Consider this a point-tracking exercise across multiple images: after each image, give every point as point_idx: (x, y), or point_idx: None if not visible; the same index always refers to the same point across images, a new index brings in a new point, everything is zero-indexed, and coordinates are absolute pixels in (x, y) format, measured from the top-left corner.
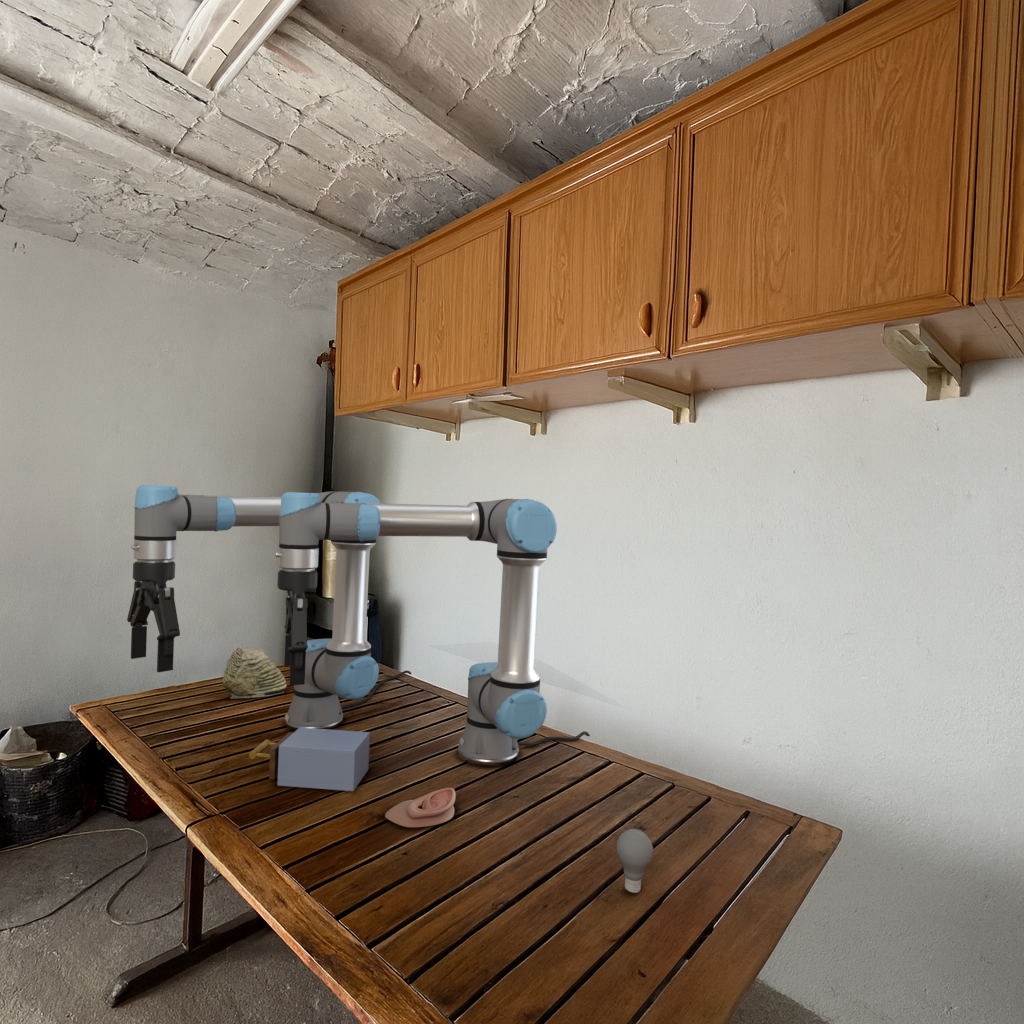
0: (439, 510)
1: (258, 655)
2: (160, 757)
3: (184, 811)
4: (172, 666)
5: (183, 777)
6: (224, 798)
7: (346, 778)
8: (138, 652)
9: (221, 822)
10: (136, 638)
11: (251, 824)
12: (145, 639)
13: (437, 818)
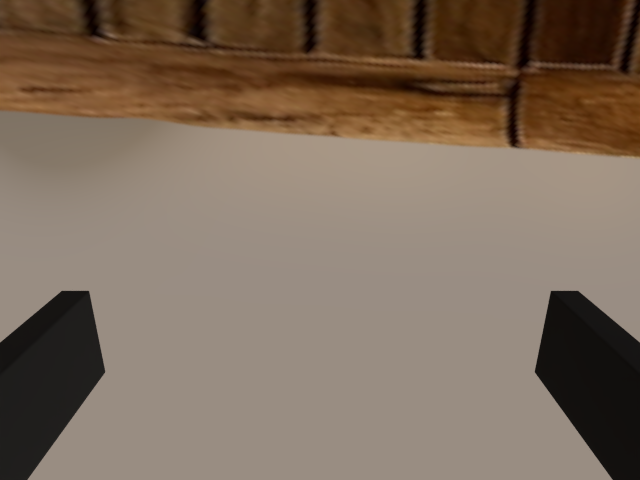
0: None
1: None
2: (82, 36)
3: (446, 125)
4: (590, 306)
5: (263, 46)
6: (459, 22)
7: None
8: (77, 362)
9: (560, 87)
10: (5, 470)
11: (627, 40)
12: (2, 386)
13: None
